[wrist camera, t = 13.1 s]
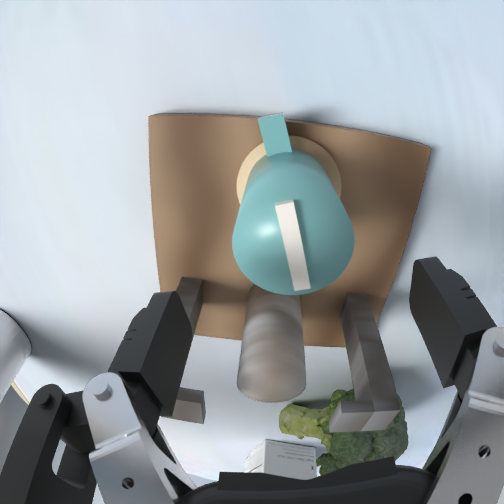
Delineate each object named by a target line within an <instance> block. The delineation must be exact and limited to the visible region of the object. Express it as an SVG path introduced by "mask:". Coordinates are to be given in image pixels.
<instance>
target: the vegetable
mask: <svg viewBox="0 0 504 504" xmlns="http://www.w3.org/2000/svg"><path fill="white" fill-rule="evenodd" d="M397 398H398V402H399V406H400V411H399V412H398V414H397V415H396V416H395V417H394V419H393V420H392V421H391V422H390V423H389V425H388V426H387V427H386V428H385V429H384V430H373V431H358V432H330V430H329V420H330V418H331V416H332V415H333V413H334V411H335V409H336V407H337V406H338V404H339V402H340V401H355V394H354V389H353V390H350V391H348V392H346V391H345V390H336V391H335V392H334V393H333V394H332V397H331V402H330V404H329V405H328V406H327V407H325V408H323V409H309V408H307V407H302V406H297V405H293V404H289V405H287V406H286V407H285V408H284V409H283V410H282V411H281V413H280V417H279V427H280V430H281V432H282V433H285V434H290V435H295V436H297V437H298V438H299V439H302V438H304V436H307V437H316V438H319V439H321V444H324V445H326V447H327V450H328V453H327V454H324V453H323V454H322V455H321V456H320V457H319V458H318V459H317V460H316V464H317V466H319V465H321V468H320V470H319V473H320V475H324V474H327V473H330V472H333V471H336V470H338V469H341V468H344V467H346V466H349V465H351V464H356V463H362V462H368V461H373V460H378V459H382V458H387V457H392V456H394V459H395V461H396V459H398V458H399V457H400V456H401V455H402V454H403V453H404V451H405V450H406V449H407V446H408V434H407V422H405V420H404V419H405V412H404V408H403V407H402V406H401V405H402V401H401V399H400V398H399V396H398V395H397Z"/></svg>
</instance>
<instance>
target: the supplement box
mask: <svg viewBox="0 0 504 504" xmlns="http://www.w3.org/2000/svg"><path fill="white" fill-rule="evenodd" d="M244 472H246V473H252V472H262V473H267V474H272V475H278V476H283V477H289V478H295V479H302V480H308V479H312V478H315V477H317V475H316V448H315V447H308V446H301V445H295V444H288V443H283V442H277V441H272V440H264V441H263V442H262V443H261V444H259V445H258V446H257V447H256V448H254V449H253V450H252V451H251V452H250V453H248V454H247V455H246V456H245V465H244Z"/></svg>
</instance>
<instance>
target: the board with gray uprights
mask: <svg viewBox="0 0 504 504" xmlns="http://www.w3.org/2000/svg"><path fill="white" fill-rule="evenodd" d="M259 117H260V116H246V115H229V114H199V113H162V114H154V115H151V116H149V163H150V185H151V201H152V215H153V227H154V238H155V248H156V258H157V267H158V275H159V283H160V291H161V292H169V291H176V292H177V293H178V294H179V296H180V299H181V301H182V304H183V306H184V309H185V311H186V314H187V316H188V318H189V321H190V323H191V327H192V340H193V336H194V335H201V336H208V337H216V338H225V339H234V340H242V346H241V354H240V362H239V370H238V377H237V386H238V388H239V390H240V391H241V392H242V393H243V394H244V395H245V396H247V397H249V398H251V399H254V400H257V401H262V402H283V401H287V400H290V399H293V398H295V397H297V396H298V395H300V394H301V393H302V392H303V391H304V389H305V387H306V372H305V356H304V345H305V346H323V347H346V349H347V354H348V359H349V365H350V370H351V376H352V382H353V388H354V394H355V401H340V402H339V404H338V406H337V407H336V409H335V411H334V413H333V415H332V416H331V418H330V420H329V430H330V432H358V431H373V430H384V429H385V428H386V427H387V426H388V425H389V423H390V422H391V421H392V420H393V419H394V417H395V416H396V415H397V414H398V412H399V411H400V406H399V402H398V398H397V394H396V390H395V386H394V382H393V379H392V375H391V371H390V368H389V364H388V361H387V357H386V354H385V350H384V347H383V344H382V340H381V337H380V334H379V331H378V328H377V324H376V323H377V321H378V318H379V316H380V314H381V311H382V309H383V306H384V304H385V301H386V299H387V296H388V293H389V291H390V288H391V286H392V283H393V280H394V277H395V275H396V272H397V269H398V266H399V263H400V261H401V258H402V255H403V252H404V249H405V246H406V243H407V239H408V236H409V233H410V230H411V227H412V223H413V220H414V216H415V213H416V209H417V206H418V202H419V198H420V195H421V191H422V187H423V183H424V179H425V175H426V170H427V166H428V162H429V157H430V152H431V148H430V147H428V146H426V145H424V144H422V143H419V142H415V141H411V140H407V139H402V138H398V137H394V136H389V135H384V134H380V133H375V132H370V131H364V130H359V129H353V128H348V127H342V126H336V125H329V124H322V123H315V122H308V121H300V120H291V119H285V124H286V128H287V132H288V136H289V141H290V145H291V149H297V150H301V151H304V152H306V153H308V154H310V155H312V156H313V157H314V158H316V159H317V160H318V161H319V162H320V164H321V165H322V166H323V168H324V170H325V171H326V173H327V175H328V177H329V179H330V181H331V183H332V185H333V187H334V189H335V190H336V192H337V194H338V196H339V198H340V200H341V202H342V204H343V206H344V208H345V210H346V212H347V214H348V217H349V219H350V221H351V223H352V226H353V230H354V236H355V244H354V251H353V254H352V257H351V260H350V262H349V264H348V266H347V267H346V269H345V270H344V271H343V273H342V274H341V275H340V276H339V277H338V278H337V279H336V280H335V281H333V282H332V283H331V284H329V285H327V286H326V287H324V288H322V289H320V290H317V291H315V292H312V293H307V294H302V295H282V294H277V293H273V292H270V291H267V290H265V289H263V288H261V287H259V286H257V285H256V284H254V283H253V282H252V281H250V280H249V279H248V278H247V277H246V276H245V275H244V274H243V272H242V271H241V270H240V268H239V266H238V265H237V263H236V260H235V258H234V254H233V248H232V236H233V231H234V227H235V223H236V220H237V216H238V212H239V209H240V205H241V201H242V198H243V194H244V190H245V187H246V183H247V180H248V176H249V174H250V171H251V169H252V168H253V166H254V165H255V163H256V162H257V161H258V160H259V159H260V158H262V157H263V156H264V155H266V150H265V146H264V143H263V139H262V135H261V131H260V127H259V123H258V118H259ZM191 343H192V342H191ZM190 347H191V346H190ZM188 354H189V353H188ZM185 365H186V364H185ZM205 413H206V411H205V401H204V391H199V390H193V389H186V388H180V387H179V391H178V395H177V399H176V403H175V407H174V410H173V414H172V417H166V418H171V419H177V420H182V421H188V422H194V423H200V424H204V419H205ZM161 417H165V416H161Z"/></svg>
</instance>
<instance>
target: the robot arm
mask: <svg viewBox="0 0 504 504" xmlns="http://www.w3.org/2000/svg"><path fill="white" fill-rule="evenodd" d="M409 302H410V309H411V313H412V315H413V317H414V320H415V322H416V324H417V326H418V328H419V330H420V333H421V335H422V337H423V339H424V342H425V344H426V346H427V349H428V351H429V353H430V356H431V358H432V360H433V363H434V365H435V368H436V370H437V373H438V375H439V378H440V380H441V383H442V385H443V388H446V387H449V386H452V385H455V386H456V388H457V393H456V395H455V397H454V400H453V403H452V406H451V409H450V411H449V414H448V417H447V419H446V422H445V424H444V427H443V429H442V432H441V434H440V436H439V439H438V441H437V443H436V445H435V447H434V449H433V451H432V452H431V454H430V456H429V458H428V459H427V461H426V463H425V465H424V467H423V469H420V468H416V467H412V466H404V465H395V459H394V456H392V457H387V458H382V459H378V460H373V461H368V462H362V463H356V464H351V465H349V466H346V467H344V468H341V469H338V470H336V471H333V472H330V473H327V474H324V475H321V476H318V477H315V478H312V479H308V480H302V479H295V478H289V477H283V476H278V475H272V474H267V473H262V472H252V473H246V472H220V475H219V481H217V482H212V483H209V484H205V485H203V486H201V487H197V486H196V485H195V483H194V482H193V481H192V479H191V478H190V477H189V476H188V474H187V473H186V472H185V471H184V469H183V468H182V466H181V465H180V463H179V461H178V460H177V458H176V456H175V454H174V453H173V451H172V449H171V447H170V445H169V444H168V442H167V440H166V438H165V436H164V434H163V433H162V431H161V429H160V427H159V426H158V424H157V423H158V419H159V416H165V417H172V414H173V410H174V407H175V403H176V399H177V395H178V391H179V387H180V383H181V379H182V376H183V372H184V368H185V364H186V361H187V357H188V353H189V350H190V346H191V342H192V327H191V323H190V321H189V318H188V316H187V314H186V311H185V309H184V306H183V304H182V301H181V299H180V296H179V294H178V293H177V292H176V291H169V292H159V293H154V294H153V296H152V298H151V300H150V302H149V304H148V306H147V308H143V309H142V310H141V311H140V312H139V313H138V314H137V315H136V316H135V317H134V318H133V320H132V322H131V324H130V326H129V328H128V331H127V332H126V334H125V336H124V340H122V342H121V344H120V346H119V348H118V351H117V353H116V355H115V357H114V359H113V361H112V364H111V366H110V368H109V370H108V372H107V373H102V374H99V375H97V376H95V377H94V378H92V379H91V380H90V381H89V382H88V383H87V385H86V386H85V388H84V390H83V391H79V392H74V393H69V394H65V393H64V392H63V391H62V389H61V388H60V387H59V386H58V385H55V384H48V385H45V386H43V387H42V388H40V389H39V390H38V391H37V392H36V393H35V394H34V396H33V398H32V400H31V402H30V404H29V406H28V408H27V410H26V413H25V415H24V417H23V419H22V422H21V424H20V426H19V428H18V431H17V434H16V436H15V438H14V440H13V443H12V445H11V448H10V451H9V453H8V456H7V458H6V461H5V464H4V467H3V469H2V472H1V475H0V504H92V501H93V497H94V492H95V488H96V484H98V487H99V490H100V492H101V495H102V498H103V500H104V503H105V504H497V502H498V499H499V496H500V494H501V491H502V488H503V486H504V327H497V326H496V324H495V323H494V321H493V319H492V318H491V316H490V315H489V313H488V312H487V310H486V309H485V307H484V306H483V305H482V303H481V302H480V300H479V299H478V297H476V295H475V293H474V292H473V290H472V289H470V286H469V285H468V283H467V282H466V281H465V279H464V278H463V277H462V276H461V275H459V274H458V273H456V272H455V271H453V270H452V269H448V270H447V269H446V268H445V267H444V265H443V264H442V263H441V261H440V260H439V259H438V258H437V257H430V258H424V259H418V260H415V262H414V265H413V273H412V282H411V289H410V297H409ZM30 352H31V344H30V342H29V339H28V338H27V336H26V334H25V333H24V332H23V330H22V329H21V328H20V326H19V325H18V324H17V323H16V322H15V321H14V320H13V319H12V318H11V317H10V316H9V315H7V314H6V313H5V312H3V311H2V310H0V402H1V401H2V399H3V397H4V395H5V394H6V392H7V390H8V388H9V387H10V385H11V383H12V382H13V380H14V378H15V377H16V375H17V373H18V372H19V370H20V368H21V367H22V365H23V364H24V362H25V360H26V359H27V357H28V356H29V354H30ZM60 439H61V440H62V441H63V442H65V443H66V447H65V450H64V453H63V456H62V459H61V463H60V466H59V469H58V472H57V475H55V474H54V472H53V470H52V461H53V458H54V455H55V452H56V449H57V446H58V443H59V440H60Z"/></svg>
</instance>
